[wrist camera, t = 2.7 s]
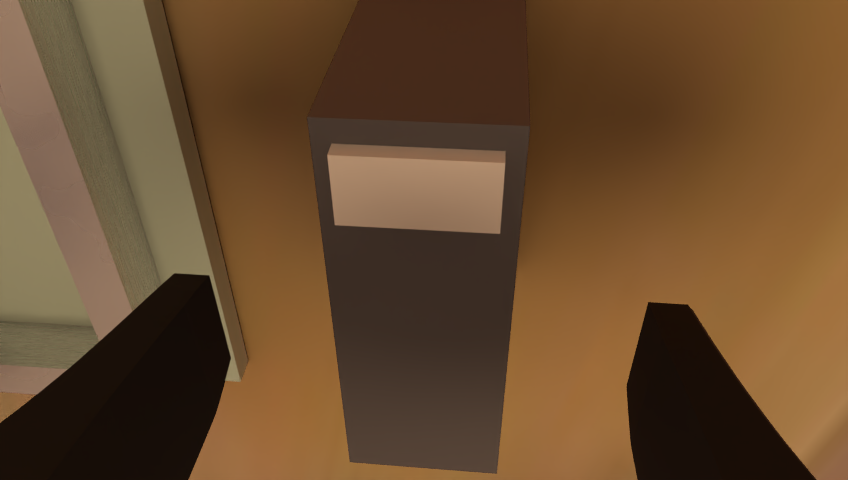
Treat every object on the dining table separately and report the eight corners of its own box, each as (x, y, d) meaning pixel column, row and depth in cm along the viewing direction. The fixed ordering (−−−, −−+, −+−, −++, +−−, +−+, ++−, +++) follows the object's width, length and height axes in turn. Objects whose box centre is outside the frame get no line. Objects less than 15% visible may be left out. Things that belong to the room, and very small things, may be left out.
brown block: (388, 269, 19) (347, 475, 15) (373, -32, 14) (302, 128, 10) (500, 276, 19) (496, 486, 14) (524, -28, 14) (530, 138, 9)
